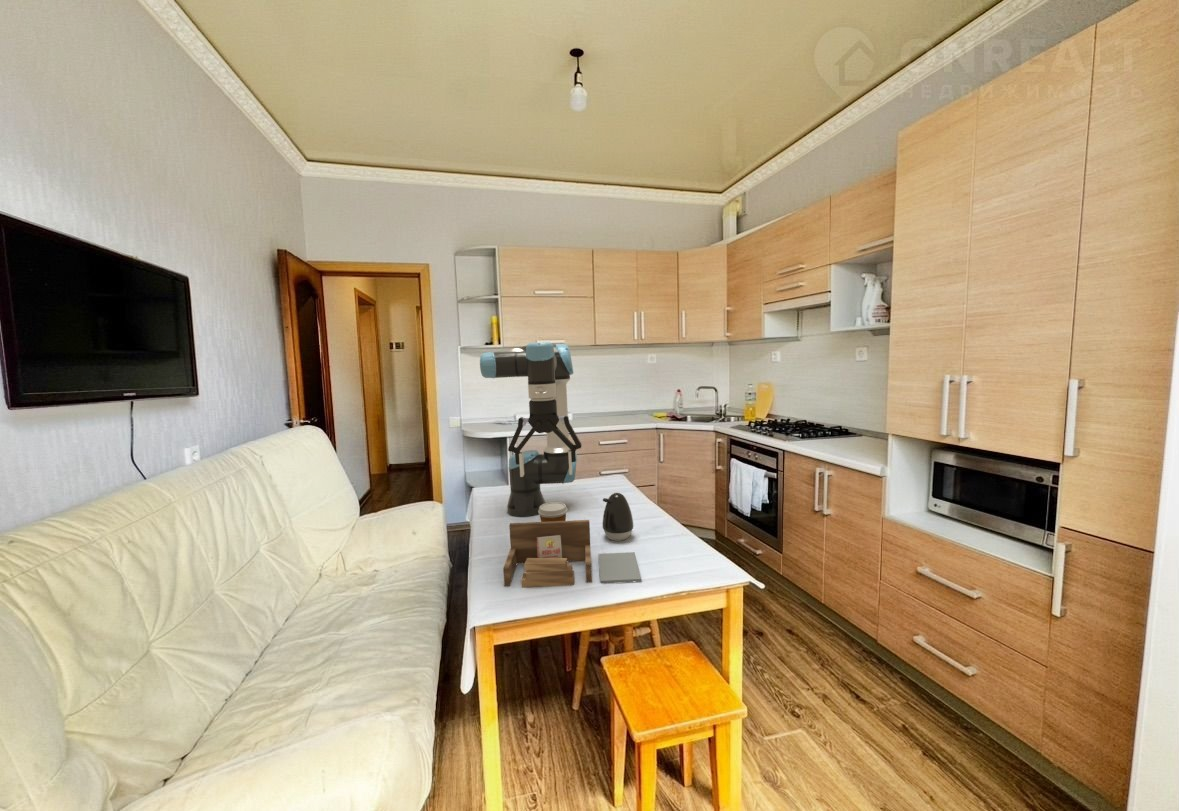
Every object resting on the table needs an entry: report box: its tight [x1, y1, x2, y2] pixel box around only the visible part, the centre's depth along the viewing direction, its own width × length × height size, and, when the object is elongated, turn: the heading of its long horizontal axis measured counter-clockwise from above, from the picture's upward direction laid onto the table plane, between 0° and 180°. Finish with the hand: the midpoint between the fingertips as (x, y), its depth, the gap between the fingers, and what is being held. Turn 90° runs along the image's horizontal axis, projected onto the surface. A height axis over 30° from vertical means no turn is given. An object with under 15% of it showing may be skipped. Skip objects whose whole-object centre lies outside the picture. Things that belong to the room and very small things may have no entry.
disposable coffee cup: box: [538, 501, 568, 522], centre depth 146 cm, size 10×10×12 cm
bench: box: [502, 519, 593, 587], centre depth 126 cm, size 14×24×12 cm, turn 91°
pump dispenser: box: [602, 492, 634, 542], centre depth 147 cm, size 10×10×15 cm
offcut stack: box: [520, 558, 575, 588], centre depth 120 cm, size 5×14×6 cm, turn 91°
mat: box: [597, 551, 643, 584], centre depth 127 cm, size 16×11×1 cm
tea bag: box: [537, 535, 562, 558], centre depth 127 cm, size 4×7×10 cm, turn 99°
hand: (546, 474), depth 125 cm, fingers open, 13 cm apart
